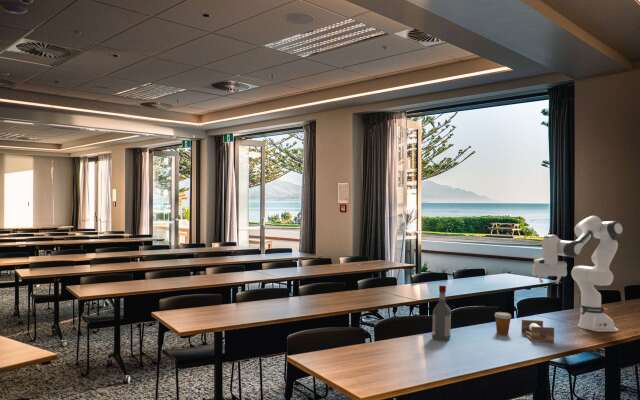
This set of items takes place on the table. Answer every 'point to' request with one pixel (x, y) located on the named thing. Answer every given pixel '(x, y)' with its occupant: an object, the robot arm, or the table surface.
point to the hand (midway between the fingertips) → (549, 283)
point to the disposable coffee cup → (502, 322)
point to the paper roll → (532, 326)
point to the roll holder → (537, 332)
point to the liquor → (441, 318)
